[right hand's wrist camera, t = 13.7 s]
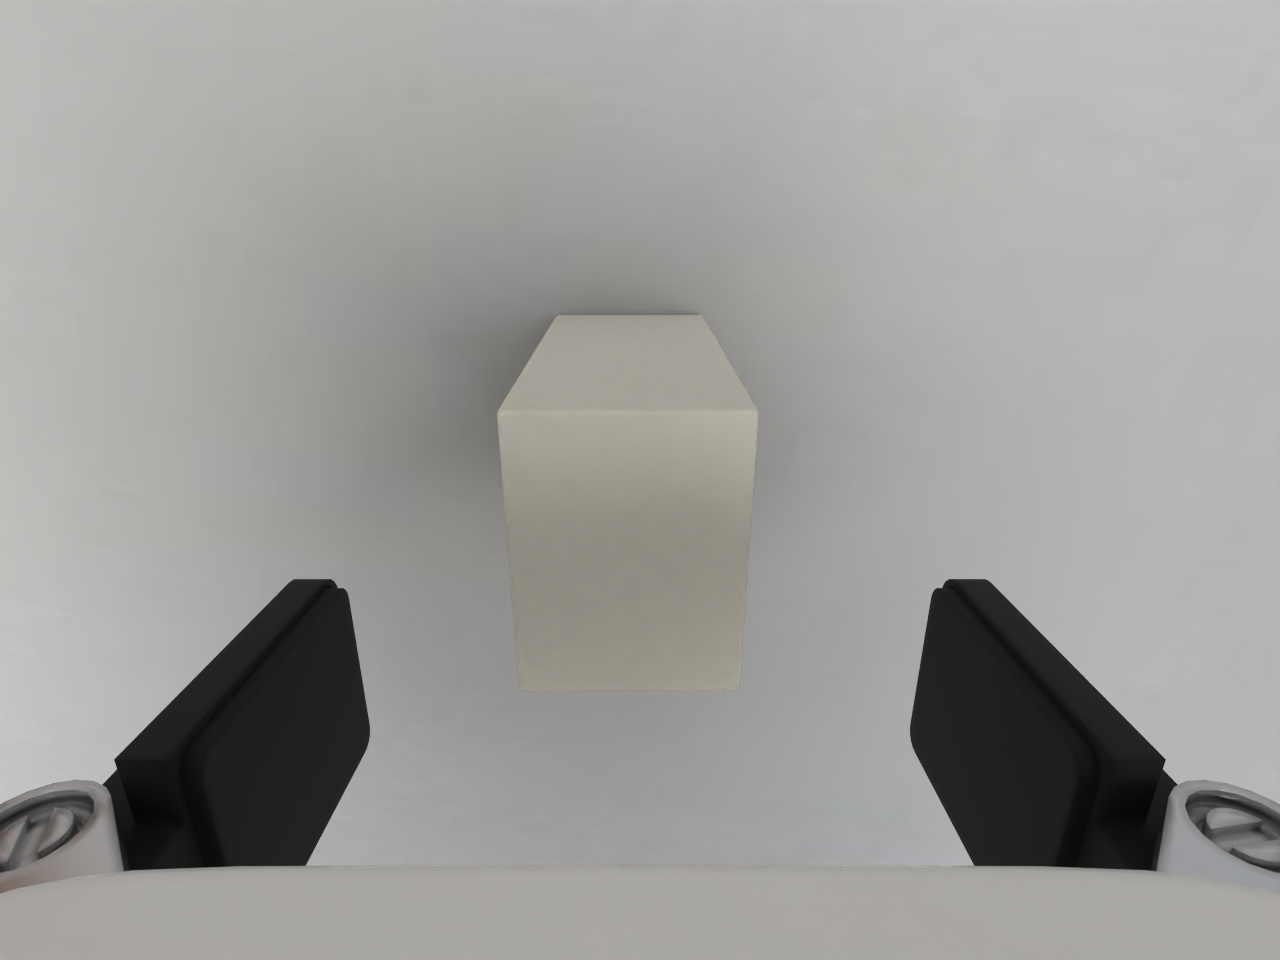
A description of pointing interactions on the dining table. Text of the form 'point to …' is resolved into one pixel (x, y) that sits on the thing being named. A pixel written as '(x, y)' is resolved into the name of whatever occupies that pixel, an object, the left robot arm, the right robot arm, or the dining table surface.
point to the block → (628, 506)
